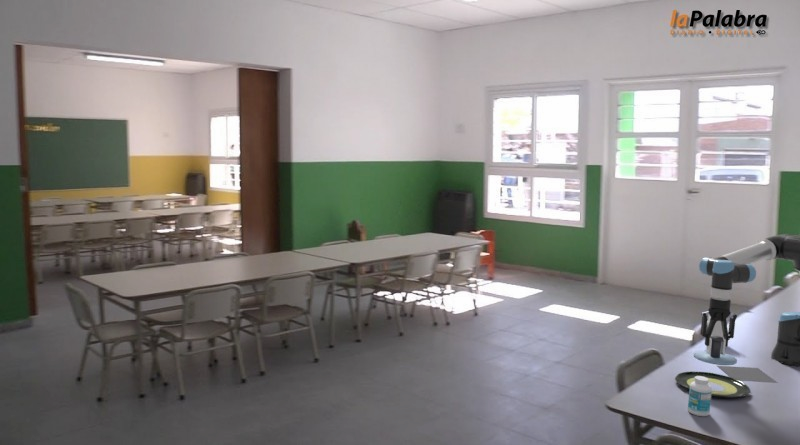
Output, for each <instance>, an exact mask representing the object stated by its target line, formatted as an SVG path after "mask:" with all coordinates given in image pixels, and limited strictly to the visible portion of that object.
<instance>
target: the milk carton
mask: <svg viewBox="0 0 800 445" xmlns="http://www.w3.org/2000/svg"><path fill="white" fill-rule="evenodd" d="M710 318H711V316H710V315H708V317H707V326H708V325H709V323H710ZM728 319H729V316H728V317H727V319H726V320H727V323H729V322H728ZM711 336H720V337H723V331H722V325H721V321H717V322H716V323H715V326H714V328H713V331H712V334H711ZM723 338H724V337H723Z"/></svg>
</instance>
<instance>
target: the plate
mask: <svg viewBox="0 0 800 445" xmlns="http://www.w3.org/2000/svg"><path fill="white" fill-rule="evenodd" d="M695 376H703V377H706V378H708V379H709V381H708V383H709V384H711V383H712V384H715V385H719V386H721V387H723V388H724V389H723V390H712V393H711V397H716V398H724V399H725V398H727V399H733V398H740V397H741V398H742V397H745V396H747V395H749V394H751V389H750V387H749V386H748V385H747V384H746V383H744V382H743V381H738V380H736V379H733V378H731V377H729V376H728V375H727V376H726V375H723V374H719V373H713V372H706V371H683V372H680V373H678V374H676V375H675V378H674V379H675V381H676V383H677V384H678V385H680V386H682V387H683V388H685V389H687V390H690V384H691V383H692V382H695V380H694V379H695Z"/></svg>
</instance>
